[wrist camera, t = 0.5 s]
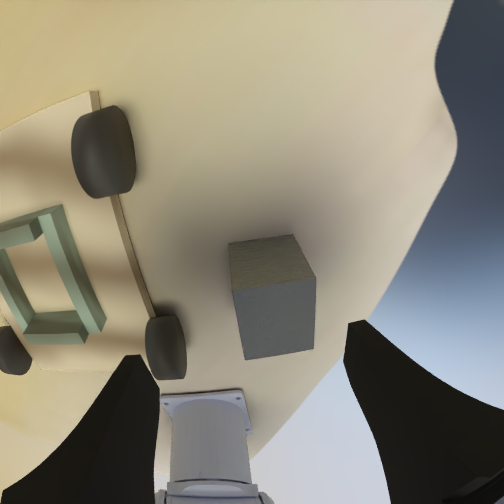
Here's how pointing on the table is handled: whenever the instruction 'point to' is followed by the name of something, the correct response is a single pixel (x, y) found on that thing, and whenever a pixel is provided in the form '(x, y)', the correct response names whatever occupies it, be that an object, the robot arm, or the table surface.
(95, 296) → the chassis
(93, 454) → the robot arm
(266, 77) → the table surface
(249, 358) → the block
